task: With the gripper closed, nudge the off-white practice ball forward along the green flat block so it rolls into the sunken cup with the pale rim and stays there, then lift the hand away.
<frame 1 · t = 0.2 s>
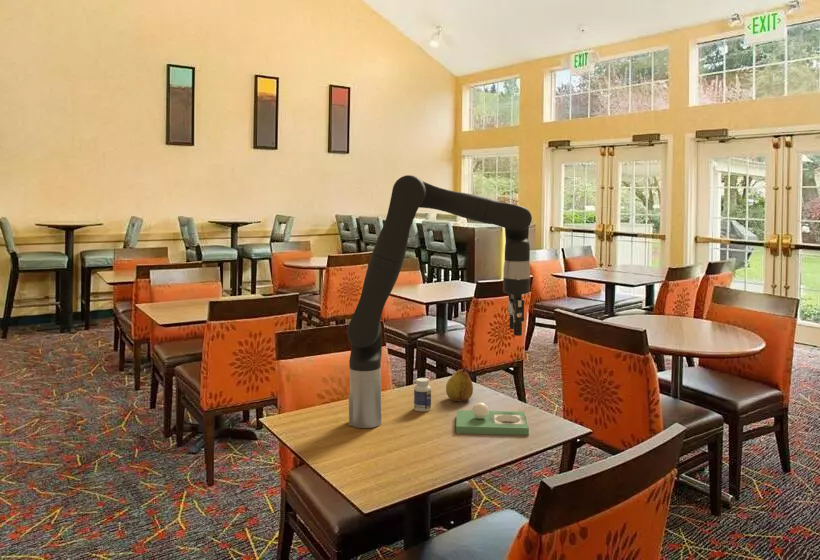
hand: (515, 332, 181), 28 cm above the table, fingers open, 8 cm apart
fruit: (459, 400, 210), on the table
pill bottle: (422, 409, 201), on the table
green flat block: (490, 425, 186), on the table
ball: (480, 410, 186), point 4 cm above the table, touching green flat block
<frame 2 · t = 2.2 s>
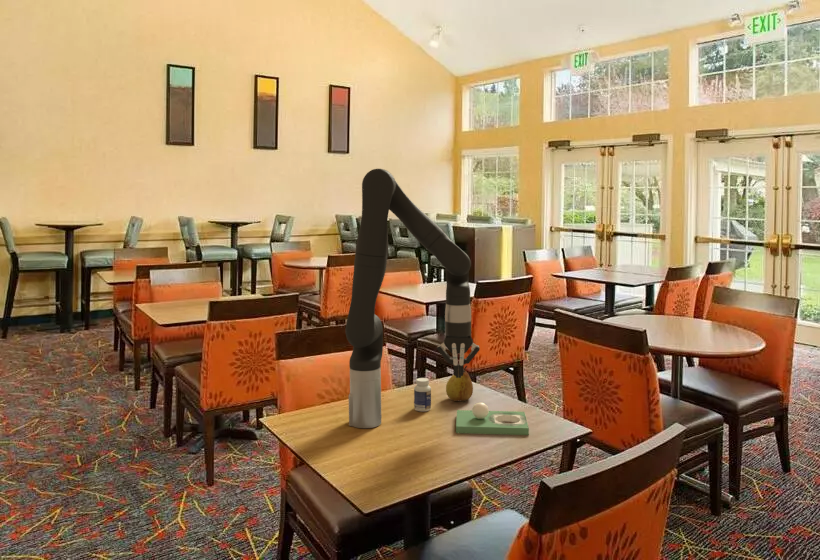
hand: (458, 377, 185), 14 cm above the table, fingers closed
nothing on the table moved.
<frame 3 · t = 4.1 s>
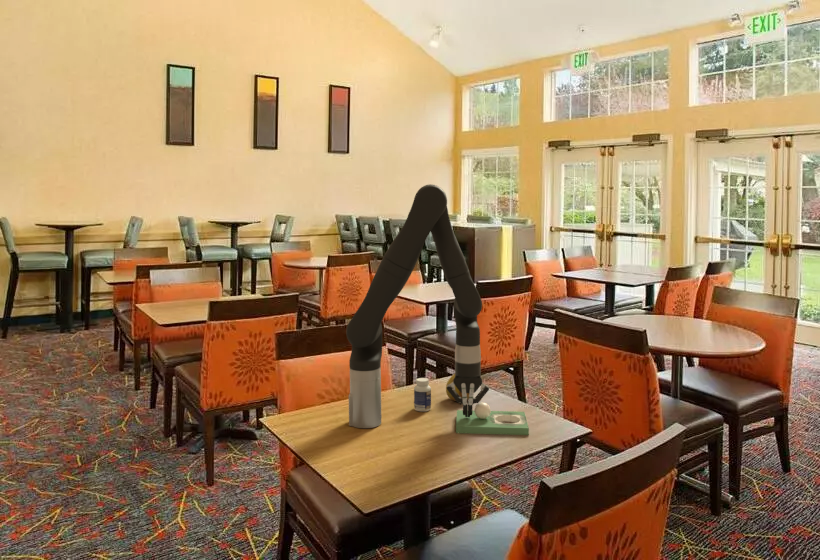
hand: (467, 416, 187), 3 cm above the table, fingers closed
ball: (482, 410, 186), point 4 cm above the table, touching gripper
everything else where it was.
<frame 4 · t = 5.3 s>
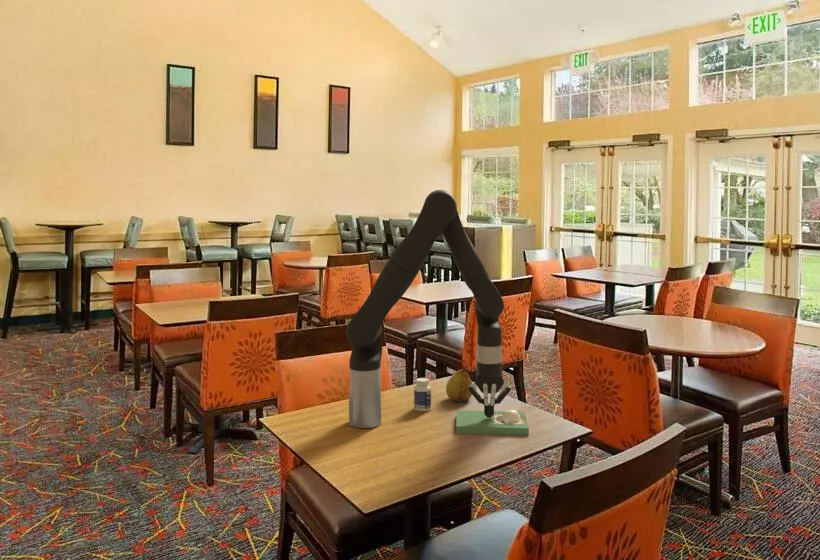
hand: (489, 416, 186), 3 cm above the table, fingers closed
ball: (511, 418, 185), point 2 cm above the table, tilted 128°
everything else where it was.
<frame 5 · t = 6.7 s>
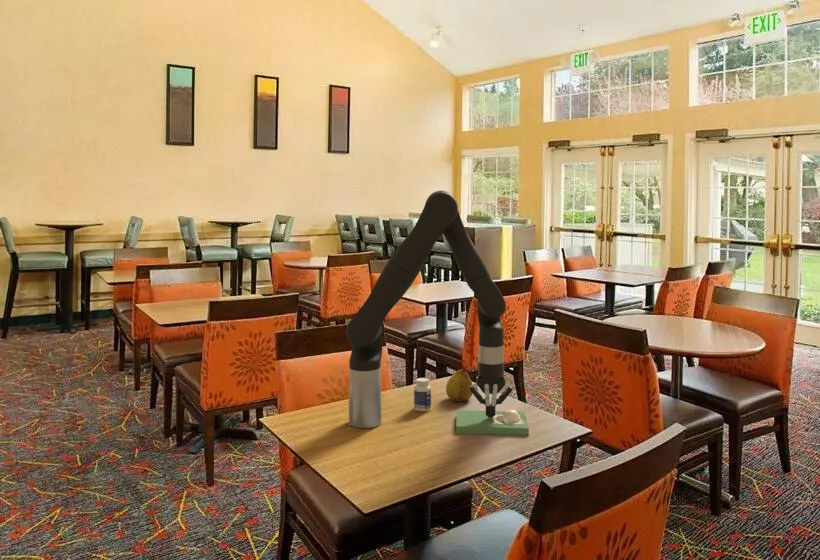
hand: (490, 417, 186), 2 cm above the table, fingers closed
nothing on the table moved.
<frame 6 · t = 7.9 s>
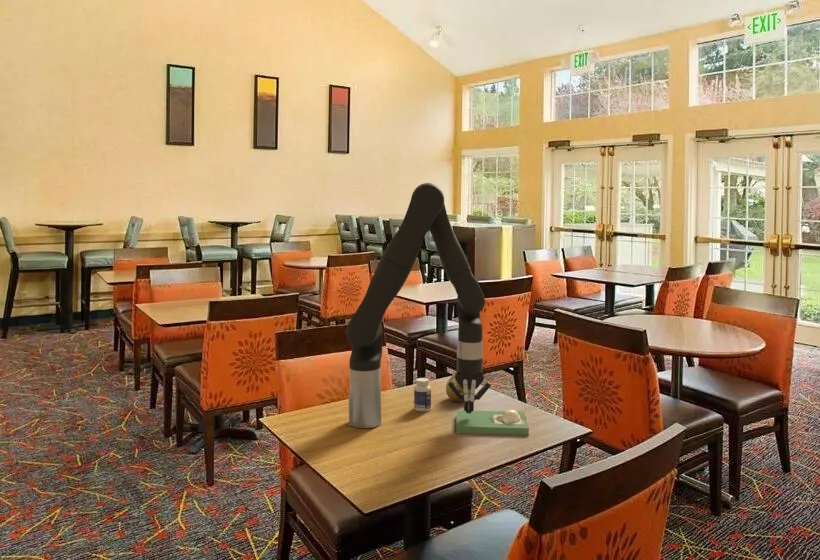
hand: (468, 412, 187), 4 cm above the table, fingers closed
nothing on the table moved.
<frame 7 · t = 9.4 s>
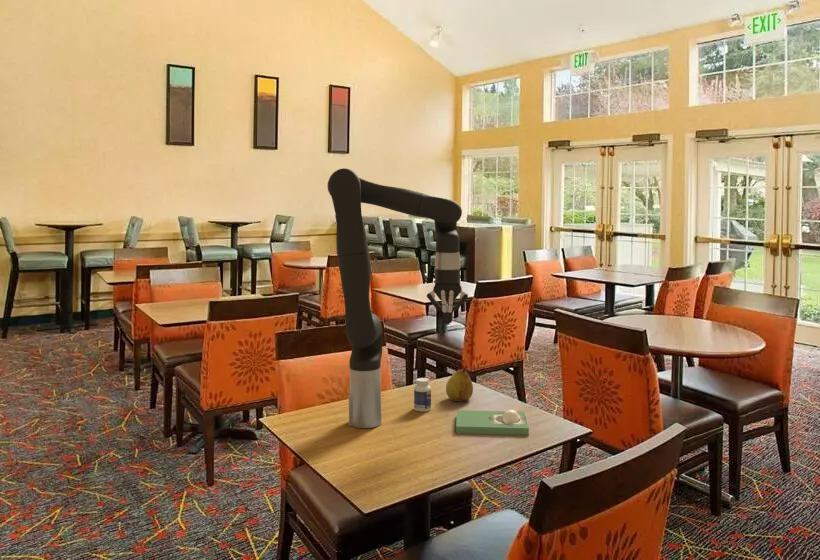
hand: (447, 324, 191), 29 cm above the table, fingers closed
nothing on the table moved.
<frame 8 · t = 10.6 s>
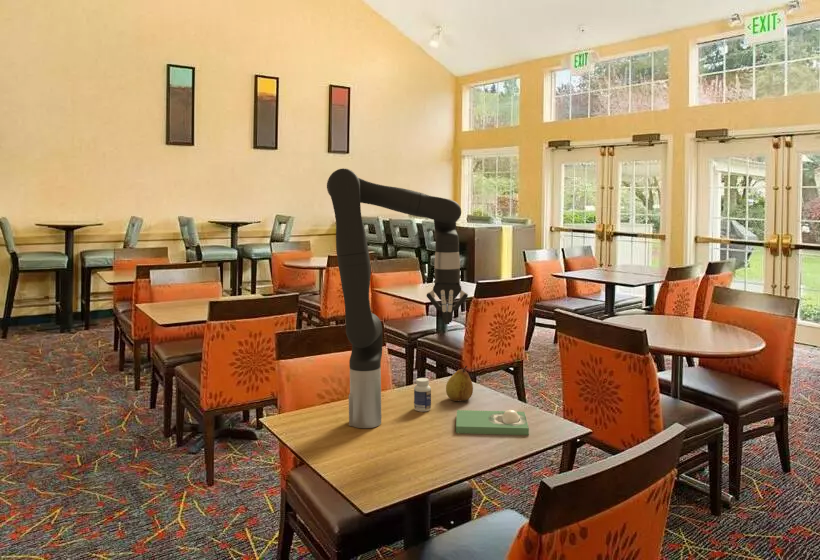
hand: (447, 323, 191), 29 cm above the table, fingers closed
nothing on the table moved.
at the end: ball 0.9 cm from the target spot on the green flat block, point 2.4 cm above the green flat block's base; ball point 2.4 cm above the table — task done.
